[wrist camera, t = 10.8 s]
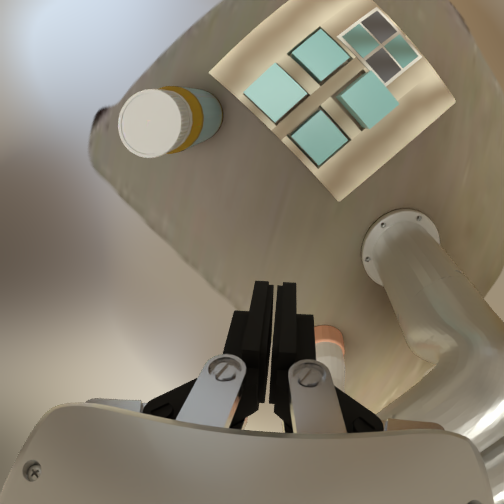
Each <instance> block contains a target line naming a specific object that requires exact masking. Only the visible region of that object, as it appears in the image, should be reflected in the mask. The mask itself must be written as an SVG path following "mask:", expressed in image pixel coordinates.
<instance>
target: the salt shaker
mask: <svg viewBox="0 0 504 504" xmlns="http://www.w3.org/2000/svg"><path fill="white" fill-rule="evenodd" d="M314 331H315V347H316V361H319V362H321V363H323V364H324V365H326V366H327V367H328V369H329V371H330V373H331V377H332V380H333V384H334V386H336V387H337V388H338V389H340V390H341V391H343V392H344V393H345V391H344V381H345V363H344V358H343V357H344V353H345V349H344V343H343V337H342V334H341V332H340V331H339V330H338V329H336V328H335V327H332V326H329V325H320V326H316V327H314Z"/></svg>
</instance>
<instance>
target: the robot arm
mask: <svg viewBox="0 0 504 504" xmlns="http://www.w3.org/2000/svg"><path fill="white" fill-rule="evenodd" d="M417 216H418V217H417ZM381 223H383V224H381ZM361 257H362V263H363V265H364V268H365V270H366V272H367V274H368V276H369V277H370V278H371V279H372V280H373V281H374V282H376V283H377V284H379V285H381V286H383V287H384V288H385V290H386V293H387V295H388V297H389V300H390V302H391V305H392V307H393V310H394V312H395V314H396V317H397V319H398V322H399V325H400V327H401V330H402V332H403V334H404V337H405V340H406V342H407V344H408V346H409V348H410V349H411V350H412V352H413V353H415V354H416V355H417V356H418V357H419V358H421V359H423V360H425V361H427V362H430V363H433V364H437V365H436V366H435V367H434V369H432V371H430V372H429V373H428V374H427V375H426V376H425V377H423V378H422V380H421V381H420V382H418V383H417V384H416V385H414V386H413V387H412V388H411V389H409V390H408V391H407V392H405V393H404V394H403V395H401V396H400V397H399V398H397V399H396V400H394V401H393V402H392V403H390V404H389V405H388V406H386V407H385V408H383V409H382V410H381V411H380V412H378V413H377V414H376V415H375V414H374V413H373V412H371V411H370V410H368V409H367V408H365V407H364V406H362V405H361V404H360V403H358V402H357V401H355V400H354V399H352V398H351V397H350V396H348V395H347V394H345V393H344V392H343V391H341V390H340V389H338V388H337V387H336V386H334V384H333V380H332V377H331V373H330V371H329V369H328V367H327V366H326V365H324V364H323V363H321V362H319V361H316V347H315V331H314V317H313V315H306V314H296V283H289V282H283V286H279V285H278V288H277V300H276V312H275V323H274V335H273V345H272V346H273V347H272V359H271V360H272V361H271V377H270V394H269V403H270V404H275V405H274V413H275V414H277V415H278V416H279V417H280V418H281V419H282V429H283V433H276V432H262V431H250V430H244V429H245V426H246V423H247V418H248V416H249V415H251V414H253V413H254V412H256V411H257V410H258V408H259V403H264V402H265V394H266V385H267V376H268V366H269V357H270V347H271V336H272V313H273V288H274V285H269V281H255V285H254V290H253V295H252V300H251V305H250V310H249V311H234V314H233V317H232V321H231V325H230V329H229V332H228V336H227V340H226V344H225V347H224V351H223V354H222V355H217V356H214V357H212V358H211V359H210V360H208V361H207V362H206V364H205V366H204V367H203V369H202V371H201V373H200V375H199V377H198V378H196V379H194V380H192V381H190V382H188V383H186V384H184V385H182V386H180V387H177V388H175V389H173V390H171V391H169V392H167V393H165V394H163V395H161V396H159V397H156V398H154V399H152V400H151V401H149V402H148V403H142V401H141V400H118V399H101V398H100V399H99V398H95V399H90V400H88V401H86V402H85V403H66V404H61V405H57V406H55V407H53V408H51V409H50V410H49V411H47V412H46V413H45V414H44V415H43V416H42V418H41V419H40V420H39V422H38V423H37V424H36V426H35V427H34V429H33V430H32V432H31V433H30V435H29V436H28V438H27V440H26V442H25V443H24V445H23V447H22V449H21V450H20V452H19V454H18V456H17V458H16V460H15V462H14V464H13V467H12V469H11V471H10V473H9V475H8V477H7V480H6V482H5V484H4V486H3V489H2V491H1V494H0V504H504V322H503V321H502V320H501V319H500V318H499V317H498V315H497V314H496V313H495V312H494V311H493V310H492V309H491V307H490V306H489V305H488V304H487V302H486V301H485V300H484V299H483V297H482V296H481V295H480V294H479V292H478V291H477V290H476V288H475V287H474V286H473V285H472V283H471V282H470V281H469V280H468V278H467V277H466V276H465V275H464V273H463V272H462V271H461V270H460V268H459V267H458V266H457V265H456V264H455V262H454V261H453V260H452V259H451V258H450V256H449V255H448V254H447V253H446V252H445V251H444V249H443V248H442V247H441V246H440V237H439V233H438V230H437V228H436V226H435V225H434V223H433V222H432V221H431V220H430V219H429V218H428V217H427V216H426V215H424V214H423V213H421V212H419V211H416V210H413V209H398V210H395V211H391V212H389V213H387V214H385V215H383V216H382V217H381V218H379V219H378V220H377V221H376V222H375V223H374V224H373V225H372V226H371V227H370V229H369V230H368V232H367V234H366V236H365V238H364V240H363V245H362V252H361ZM366 257H367V258H366Z"/></svg>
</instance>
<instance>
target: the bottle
mask: <svg viewBox="0 0 504 504" xmlns="http://www.w3.org/2000/svg"><path fill="white" fill-rule="evenodd" d="M222 118H223V112H222V107H221V104H220V103H219V101H218V99H217V98H216V97H215V96H214V95H213V94H211V93H209V92H207V91H204V90H200V89H193V88H186V87H178V86H166V87H162V88H159V89H146V90H142V91H140V92H138V93H136V94H134V95H133V96H132V97H130V98H129V99H128V100H127V101H126V103H125V104H124V106H123V107H122V109H121V112H120V115H119V120H118V130H119V135H120V138H121V140H122V142H123V144H124V145H125V146H126V148H127V149H128V150H129V151H131V152H132V153H134V154H135V155H138V156H140V157H145V158H154V157H158V156H161V155H164V154H172V153H177V152H180V151H183V150H185V149H187V148H189V147H192V146H194V145H196V144H198V143H200V142H203V141H205V140H207V139H208V138H210V137H212V136H213V135H214V134H215V133H216V132H217V131H218V129H219V127H220V125H221V123H222Z"/></svg>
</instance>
